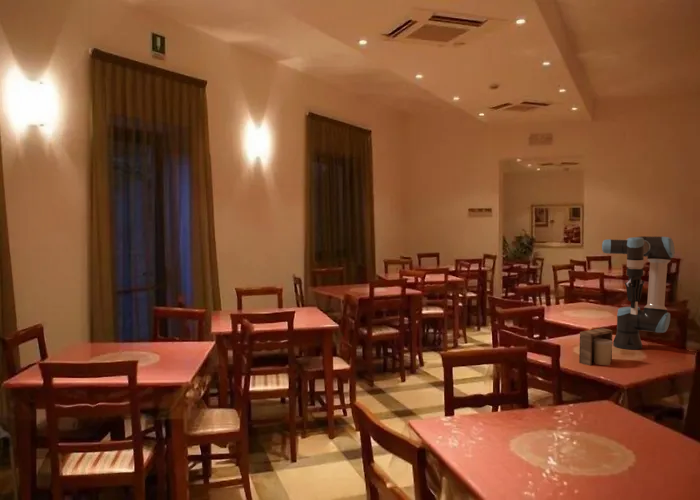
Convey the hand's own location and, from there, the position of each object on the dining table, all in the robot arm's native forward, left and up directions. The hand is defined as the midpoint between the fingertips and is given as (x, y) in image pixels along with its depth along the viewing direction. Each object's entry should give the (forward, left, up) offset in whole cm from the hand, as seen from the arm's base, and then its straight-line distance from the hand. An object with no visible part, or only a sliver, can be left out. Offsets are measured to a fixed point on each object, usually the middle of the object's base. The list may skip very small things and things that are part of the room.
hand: (634, 314), depth 282 cm
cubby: (+10, -14, -26) cm, 31 cm away
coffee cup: (+10, -10, -27) cm, 30 cm away
